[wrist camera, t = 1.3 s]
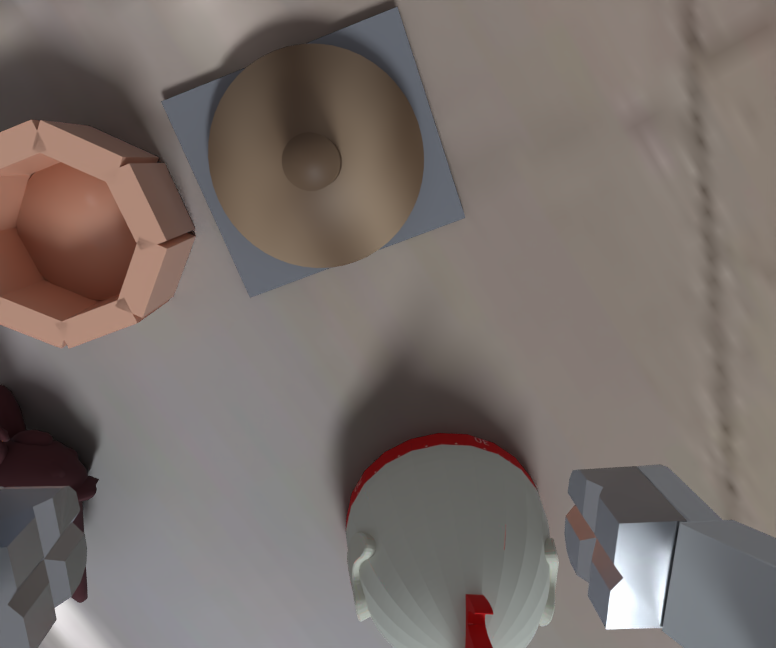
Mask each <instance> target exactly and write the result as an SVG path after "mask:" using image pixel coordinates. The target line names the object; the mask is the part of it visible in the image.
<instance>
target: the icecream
mask: <svg viewBox="0 0 776 648" xmlns="http://www.w3.org/2000/svg"><path fill="white" fill-rule="evenodd" d="M98 480H99V479H97V478H94V477H92V476H88V474H87V469H86V468H85V467H84V466H83V464H82V463H81V462H80V461H79V460H78V454H77V452H76V451H75V450H73V449H72V448H68V447H66V446H65V445H63V444H62V443H61V442H58V441H55V440H53V437H52V436H51V435H50V434H49V433H47V432H43V431H38V430H33V429H32V430H26V427H25V423H24V419H23V416H22V413H21V410H20V406H19V405H18V403H17V401H16V399H15V398H14V396H13V394H12V393H11V391H10V390H9V389H8V388H6V387H5V386H3V385H0V487H33V486H70V487H71V488H72V489H73V490H75V491H76V493H77V498H78V502H79V506H80V511H79V513H78V515H77V516H76V518H75V519H74V521H73V523H74V524H75V525H76V526H77V527H78V528H79V529H80V530H81V531H82V532H83V533H84V525H83V506H82V501H85V500H89V499H90V498H92V497H93V496H94V495H95V493H96V490H97V489H96V484H97V482H98ZM71 598H73V599H74V600H76V601H77V602H79V603H81V602H83V601H85V600H86V599H87V577H86V566H85V569H84V573H83V576H82V579H81V582H80V584H79V586H78V587H77V589H76V590H75V592H74V594H73V595H72V597H71Z"/></svg>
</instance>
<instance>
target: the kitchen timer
mask: <svg viewBox="0 0 776 648" xmlns="http://www.w3.org/2000/svg"><path fill="white" fill-rule="evenodd" d="M346 539H347V547H348V552H347V562H348V570H349V576H350V580H351V585H352V590H353V595H354V601H355V606H356V612H357V617H358V619H359V621H363V620H365V619H367V618H369V617H370V616H371V618H372V620H373V622H374V624H375V625H376V627H377V629H378V630H379V632H380V633H381V634H382V636H383V637H384V638H385V639H386V640H387V641H388V642H389V643H390V645H391V646H392V647H393V648H526V647H527V645H528V644H529V643H530V641H531V640H532V638H533V636H534V635H535V633H536V630H537V628H538V625H541V626H546V625H548V624H549V623H550V622H551V620H552V617H553V614H554V610H555V593H556V579H557V571H558V565H559V561H558V556H557V552H556V547H555V543H554V540H553V539H552V538H550V533H549V525H548V520H547V517H546V514H545V511H544V508H543V505H542V502H541V499H540V497H539V494H538V491H537V489H536V487H535V485H534V483H533V481H532V479H531V477H530V476H529V474H528V473H527V472H526V471H525V469H524V468H523V467H522V466H521V464H520V463H519V462H518V460H517V459H516V458H515V457H514V456H512V455H511V454H509V453H508V452H506V451H505V450H503V449H502V448H500V447H499V446H497V445H496V444H495V443H493V442H489V441H486V440H483V439H480V438H477V437H474V436H471V435H468V434H448V433H436V434H432V435H427V436H423V437H418V438H414V439H410V440H408V441H406V442H404V443H402V444H400V445H398V446H396V447H394V448H392V449H390V450H388V451H386V452H385V453H383V454H382V455H381V456H380V457H379V458H378V459H377V460H376V461H375V462H374V463H373V464H372V465H371V466H369V467H368V468H367V469H366V470H365V471H364V473H363V475H362V476H361V478H360V480H359V482H358V483H357V485H356V487H355V488H354V490H353V492H352V495H351V499H350V504H349V508H348V513H347V519H346Z"/></svg>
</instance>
